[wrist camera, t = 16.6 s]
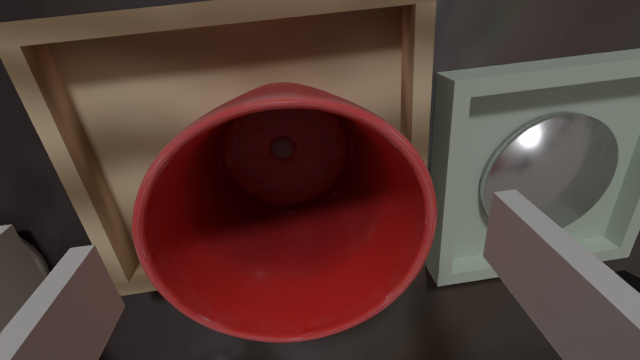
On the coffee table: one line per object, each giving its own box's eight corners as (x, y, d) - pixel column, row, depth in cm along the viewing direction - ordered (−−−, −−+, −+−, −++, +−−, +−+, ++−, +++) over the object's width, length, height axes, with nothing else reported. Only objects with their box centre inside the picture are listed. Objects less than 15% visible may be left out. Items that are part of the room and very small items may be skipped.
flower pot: (187, 38, 18) (108, 75, 9) (391, 66, 20) (480, 118, 11) (191, 213, 23) (140, 344, 14) (356, 223, 25) (400, 345, 16)
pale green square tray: (436, 72, 21) (454, 81, 19) (668, 45, 22) (712, 50, 20) (424, 264, 28) (437, 286, 26) (601, 237, 29) (628, 257, 27)
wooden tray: (27, 20, 18) (-17, 24, 15) (414, -20, 19) (437, -23, 16) (134, 264, 25) (117, 296, 23) (407, 225, 26) (422, 251, 24)
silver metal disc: (488, 120, 22) (495, 124, 21) (625, 102, 22) (637, 106, 22) (472, 237, 26) (478, 244, 25) (588, 220, 26) (597, 226, 26)
